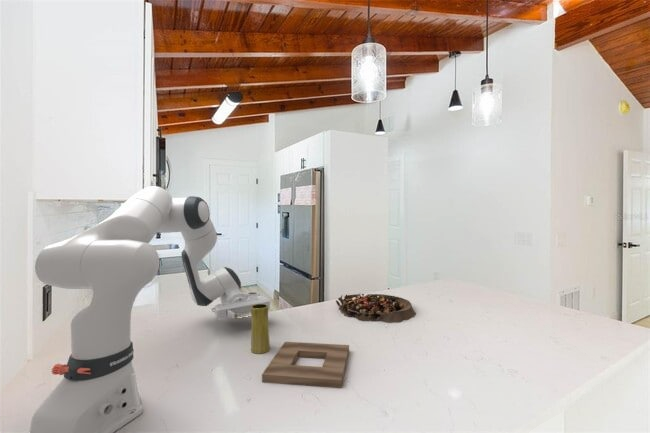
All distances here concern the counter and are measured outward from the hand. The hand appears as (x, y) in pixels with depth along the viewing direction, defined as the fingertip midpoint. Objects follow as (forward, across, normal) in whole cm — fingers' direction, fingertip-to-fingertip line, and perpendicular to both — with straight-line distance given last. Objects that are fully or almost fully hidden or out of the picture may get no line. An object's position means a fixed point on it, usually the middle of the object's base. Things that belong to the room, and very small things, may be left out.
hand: (248, 313), depth 114 cm
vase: (+12, 0, +8) cm, 15 cm away
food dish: (+1, +56, +9) cm, 57 cm away
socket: (+30, +8, +8) cm, 32 cm away
